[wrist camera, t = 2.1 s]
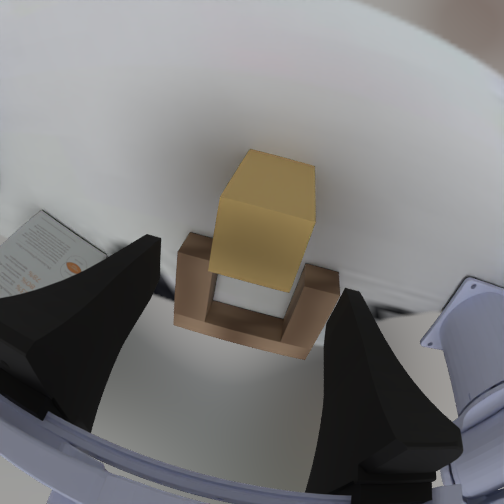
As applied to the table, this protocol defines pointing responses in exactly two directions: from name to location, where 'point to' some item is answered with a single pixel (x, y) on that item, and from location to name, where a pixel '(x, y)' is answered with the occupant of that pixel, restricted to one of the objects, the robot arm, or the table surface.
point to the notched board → (245, 321)
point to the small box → (42, 256)
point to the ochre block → (264, 221)
